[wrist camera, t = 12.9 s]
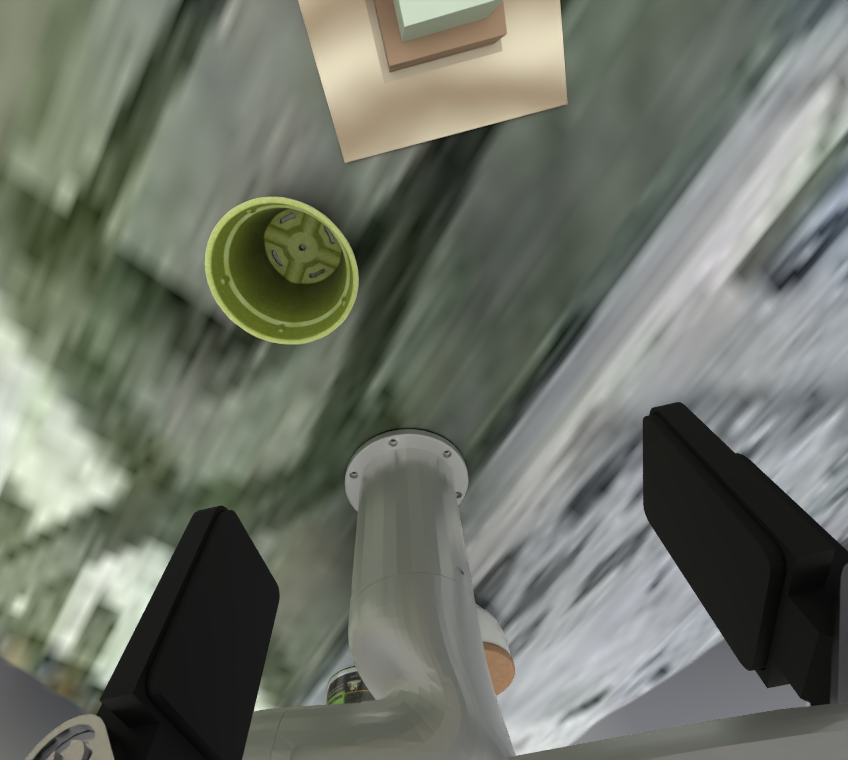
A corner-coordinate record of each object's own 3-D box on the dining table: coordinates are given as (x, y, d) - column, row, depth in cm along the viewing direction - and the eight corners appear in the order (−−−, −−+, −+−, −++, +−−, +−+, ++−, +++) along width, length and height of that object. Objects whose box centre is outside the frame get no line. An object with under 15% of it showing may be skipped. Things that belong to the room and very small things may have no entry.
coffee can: (314, 695, 67) (296, 824, 55) (351, 656, 63) (341, 786, 51) (376, 713, 70) (373, 839, 58) (414, 677, 66) (420, 804, 54)
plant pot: (327, 158, 34) (309, 168, 27) (384, 274, 39) (383, 310, 31) (218, 214, 36) (171, 238, 28) (285, 319, 40) (260, 365, 32)
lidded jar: (412, 640, 62) (416, 719, 54) (425, 586, 57) (431, 663, 49) (491, 643, 64) (506, 720, 55) (510, 590, 59) (529, 666, 50)
